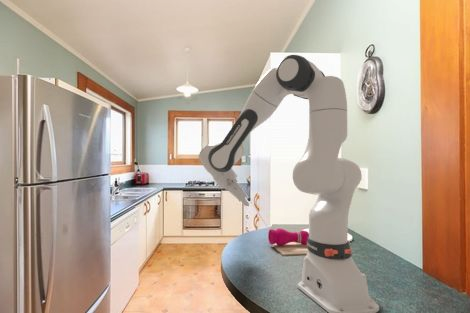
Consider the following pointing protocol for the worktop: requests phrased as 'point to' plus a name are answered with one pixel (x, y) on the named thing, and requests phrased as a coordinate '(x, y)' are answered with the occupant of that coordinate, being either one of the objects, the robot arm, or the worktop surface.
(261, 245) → the worktop surface
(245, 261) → the worktop surface
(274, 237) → the pepper mill
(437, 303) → the worktop surface
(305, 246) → the wooden board
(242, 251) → the worktop surface
